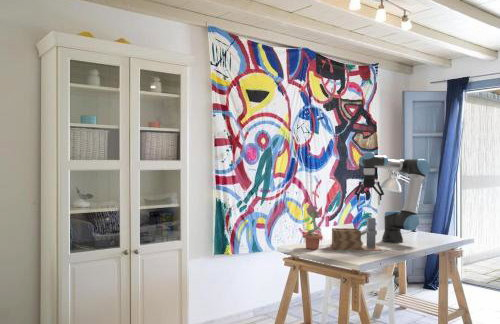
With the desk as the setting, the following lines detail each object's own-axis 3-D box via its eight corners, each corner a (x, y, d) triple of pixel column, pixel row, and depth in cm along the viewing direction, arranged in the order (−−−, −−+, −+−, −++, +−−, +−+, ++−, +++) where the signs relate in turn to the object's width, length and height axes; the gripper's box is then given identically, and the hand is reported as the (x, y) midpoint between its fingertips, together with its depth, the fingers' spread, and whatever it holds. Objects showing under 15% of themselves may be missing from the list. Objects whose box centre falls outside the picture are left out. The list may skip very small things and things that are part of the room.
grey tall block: (372, 245, 308) (372, 216, 308) (376, 249, 295) (376, 219, 295) (365, 245, 308) (365, 216, 308) (369, 249, 295) (369, 219, 295)
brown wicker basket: (358, 246, 308) (359, 228, 308) (362, 250, 295) (362, 231, 295) (330, 246, 309) (330, 228, 310) (332, 249, 297) (332, 230, 297)
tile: (377, 247, 308) (377, 245, 308) (382, 250, 294) (382, 249, 294) (360, 246, 309) (360, 245, 309) (364, 250, 295) (364, 249, 295)
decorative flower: (327, 248, 301) (327, 205, 301) (317, 251, 291) (317, 206, 291) (309, 245, 311) (309, 203, 311) (298, 248, 300) (298, 205, 301)
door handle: (346, 253, 314) (371, 240, 310) (340, 243, 315) (365, 230, 311) (346, 248, 331) (370, 236, 327) (341, 239, 332) (364, 227, 328)
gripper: (385, 174, 306) (385, 204, 306) (350, 174, 307) (349, 204, 307) (388, 174, 299) (388, 205, 299) (352, 174, 300) (352, 205, 300)
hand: (369, 205), depth 303 cm, fingers open, 13 cm apart
